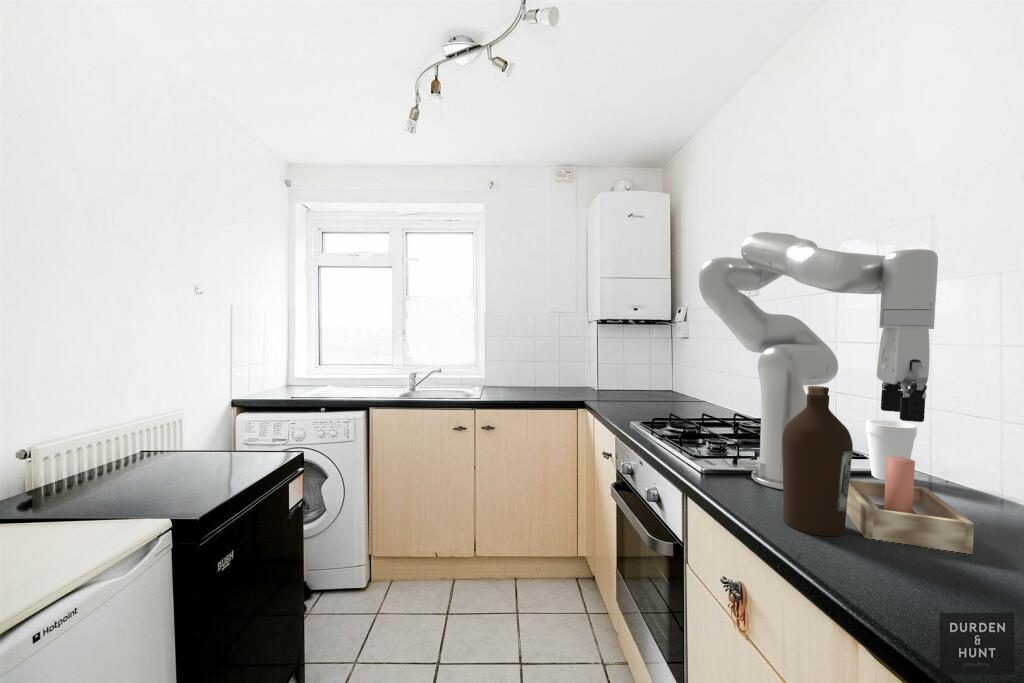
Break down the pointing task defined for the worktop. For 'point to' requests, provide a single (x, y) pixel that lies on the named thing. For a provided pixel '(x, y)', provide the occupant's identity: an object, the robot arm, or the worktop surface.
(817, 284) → the robot arm
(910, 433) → the foam cup
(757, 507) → the worktop surface
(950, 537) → the box
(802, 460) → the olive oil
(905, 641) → the worktop surface
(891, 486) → the peg
